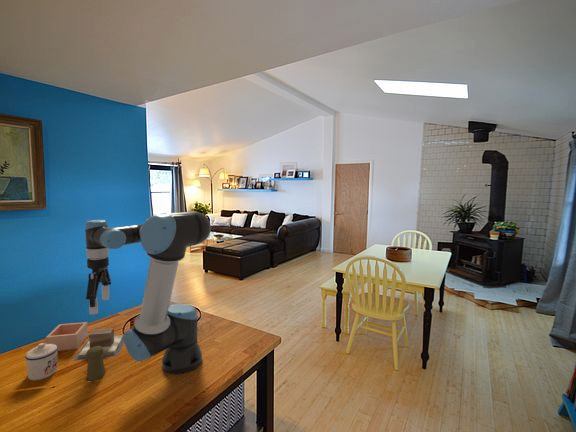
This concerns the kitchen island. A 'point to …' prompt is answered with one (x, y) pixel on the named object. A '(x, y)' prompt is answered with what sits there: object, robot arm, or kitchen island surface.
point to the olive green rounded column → (95, 364)
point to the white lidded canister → (42, 361)
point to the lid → (102, 341)
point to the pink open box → (68, 336)
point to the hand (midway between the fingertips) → (100, 306)
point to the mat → (102, 355)
